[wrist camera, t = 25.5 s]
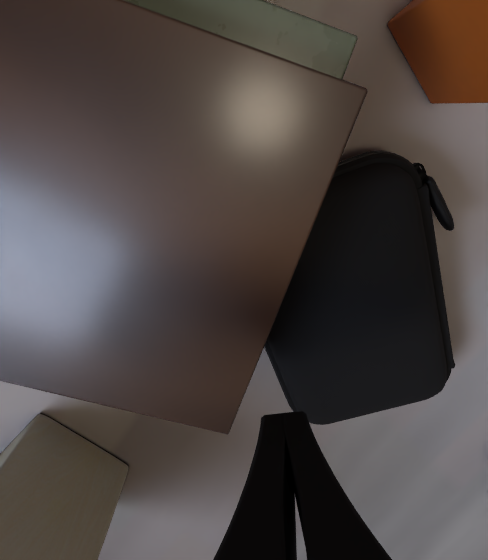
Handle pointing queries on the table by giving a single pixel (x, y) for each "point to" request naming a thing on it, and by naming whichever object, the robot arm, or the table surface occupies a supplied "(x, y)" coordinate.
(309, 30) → the drawer
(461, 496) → the table surface
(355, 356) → the carrying case
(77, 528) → the toy refrigerator
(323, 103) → the cabinet
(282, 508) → the robot arm
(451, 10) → the snack box
